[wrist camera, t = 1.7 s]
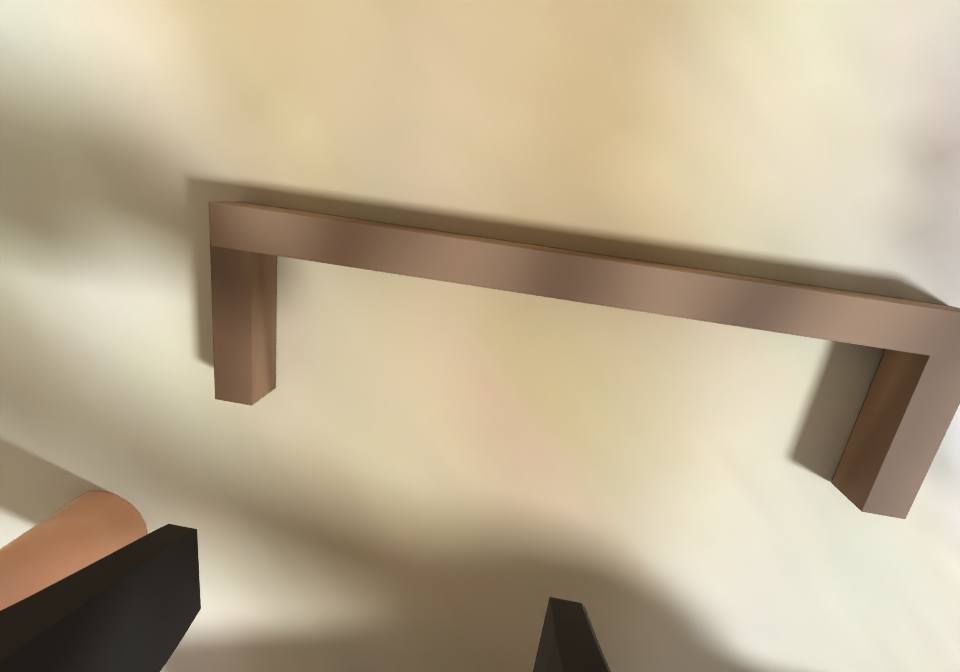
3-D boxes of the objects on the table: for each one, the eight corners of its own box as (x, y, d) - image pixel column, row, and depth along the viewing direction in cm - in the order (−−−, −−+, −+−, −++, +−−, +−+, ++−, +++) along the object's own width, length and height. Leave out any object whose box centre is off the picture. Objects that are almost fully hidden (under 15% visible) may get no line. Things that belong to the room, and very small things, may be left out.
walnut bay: (950, 306, 16) (999, 318, 15) (870, 489, 19) (905, 519, 17) (239, 201, 18) (208, 202, 16) (242, 381, 20) (215, 398, 18)
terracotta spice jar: (144, 499, 22) (12, 601, 17) (150, 566, 24) (28, 683, 18) (66, 484, 23) (-90, 580, 17) (76, 551, 24) (-68, 663, 18)
